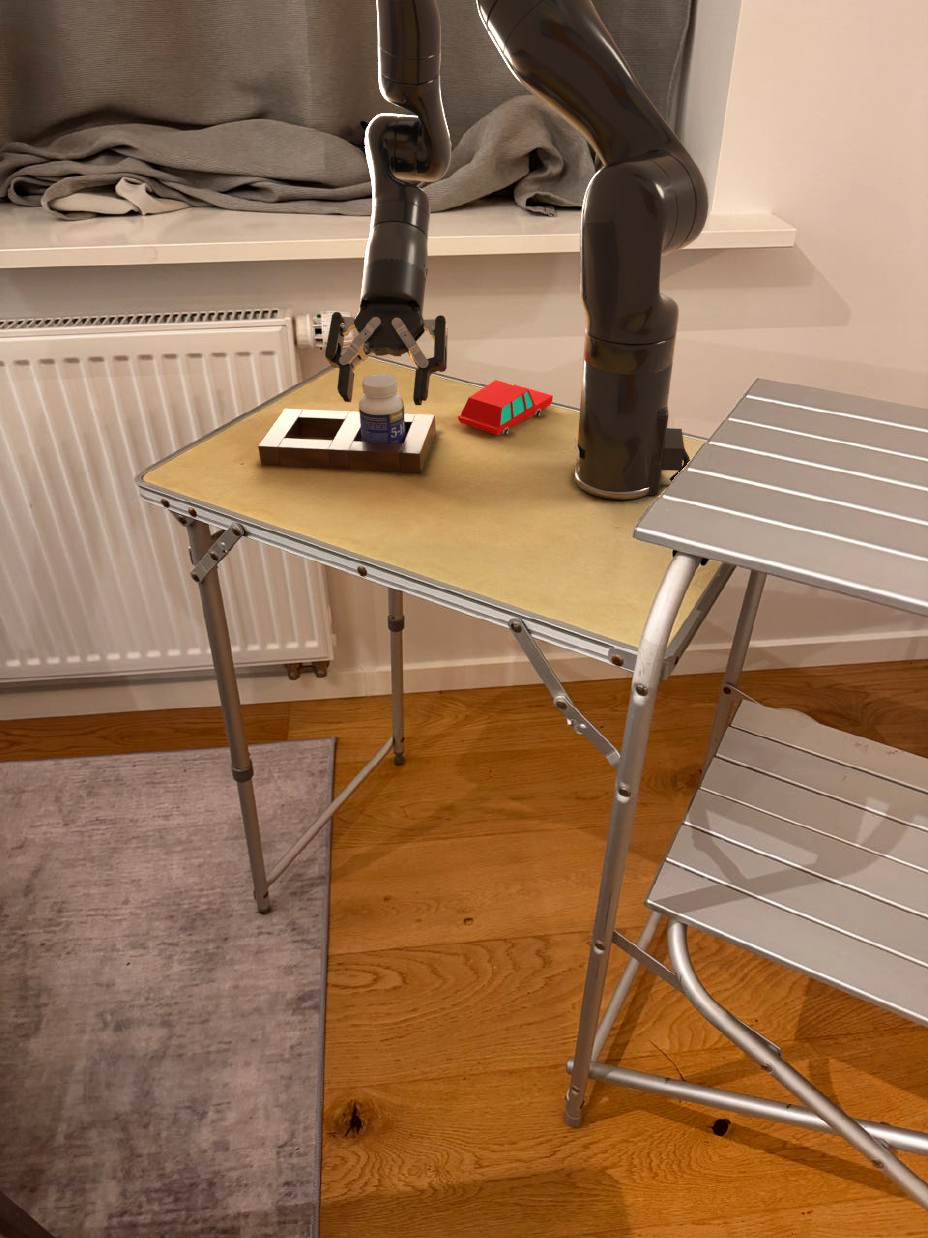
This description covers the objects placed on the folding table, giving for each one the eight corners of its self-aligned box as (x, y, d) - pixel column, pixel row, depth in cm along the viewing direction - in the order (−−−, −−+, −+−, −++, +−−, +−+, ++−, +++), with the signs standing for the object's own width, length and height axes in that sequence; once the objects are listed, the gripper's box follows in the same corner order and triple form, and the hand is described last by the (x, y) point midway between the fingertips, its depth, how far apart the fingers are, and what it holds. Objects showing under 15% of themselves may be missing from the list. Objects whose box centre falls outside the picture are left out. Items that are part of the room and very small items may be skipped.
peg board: (435, 433, 113) (434, 414, 112) (420, 473, 104) (419, 453, 103) (287, 426, 115) (284, 408, 114) (261, 465, 107) (257, 445, 105)
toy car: (553, 408, 119) (555, 379, 116) (498, 440, 111) (498, 409, 109) (514, 396, 122) (514, 367, 120) (457, 426, 115) (456, 396, 112)
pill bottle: (400, 461, 107) (395, 390, 102) (357, 458, 108) (350, 387, 102) (411, 442, 111) (407, 372, 106) (370, 439, 112) (364, 370, 107)
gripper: (329, 254, 106) (314, 386, 103) (449, 257, 104) (437, 391, 102) (344, 287, 113) (330, 410, 111) (457, 290, 111) (445, 415, 109)
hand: (381, 401), depth 106 cm, fingers open, 8 cm apart
